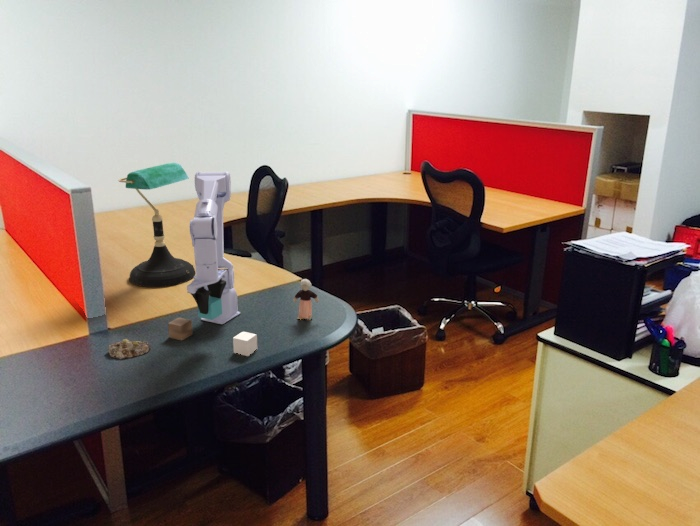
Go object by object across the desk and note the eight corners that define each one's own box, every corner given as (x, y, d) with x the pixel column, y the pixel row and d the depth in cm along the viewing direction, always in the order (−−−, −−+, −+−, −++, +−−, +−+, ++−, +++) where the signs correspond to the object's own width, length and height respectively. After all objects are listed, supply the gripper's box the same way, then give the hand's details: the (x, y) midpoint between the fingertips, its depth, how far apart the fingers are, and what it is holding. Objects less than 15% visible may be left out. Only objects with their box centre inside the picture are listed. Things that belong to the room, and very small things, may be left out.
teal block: (208, 311, 162) (207, 296, 160) (222, 313, 160) (221, 298, 158) (198, 317, 158) (197, 301, 156) (212, 319, 156) (210, 304, 155)
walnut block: (180, 331, 169) (178, 317, 167) (192, 334, 167) (191, 320, 165) (169, 337, 165) (167, 323, 163) (182, 340, 163) (180, 325, 162)
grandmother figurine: (294, 321, 175) (293, 282, 171) (293, 316, 179) (292, 277, 175) (319, 320, 176) (319, 280, 172) (318, 315, 180) (317, 276, 176)
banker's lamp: (168, 292, 198) (156, 174, 186) (112, 284, 205) (97, 170, 193) (210, 268, 222) (202, 162, 210) (158, 262, 229) (148, 159, 217)
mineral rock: (103, 354, 150) (109, 333, 157) (106, 366, 153) (111, 346, 159) (147, 352, 152) (151, 332, 159) (149, 364, 155) (153, 344, 161)
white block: (243, 346, 160) (242, 331, 158) (257, 349, 158) (256, 334, 157) (233, 353, 156) (232, 337, 155) (248, 356, 154) (247, 340, 153)
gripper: (210, 252, 162) (214, 298, 166) (175, 267, 149) (180, 317, 154) (232, 255, 159) (235, 302, 163) (198, 271, 147) (202, 321, 151)
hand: (209, 309), depth 158 cm, fingers closed on teal block, 4 cm apart
